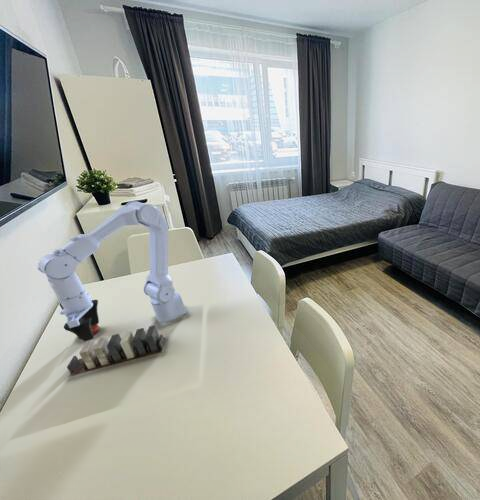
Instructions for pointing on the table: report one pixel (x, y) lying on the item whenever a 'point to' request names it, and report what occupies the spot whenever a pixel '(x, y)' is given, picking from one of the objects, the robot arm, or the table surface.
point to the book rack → (115, 351)
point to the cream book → (128, 344)
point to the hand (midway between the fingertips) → (91, 331)
